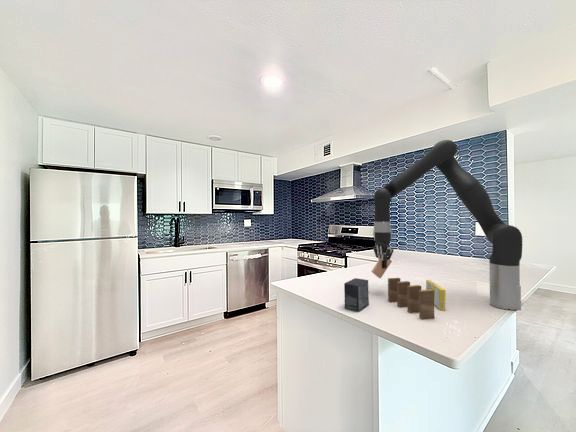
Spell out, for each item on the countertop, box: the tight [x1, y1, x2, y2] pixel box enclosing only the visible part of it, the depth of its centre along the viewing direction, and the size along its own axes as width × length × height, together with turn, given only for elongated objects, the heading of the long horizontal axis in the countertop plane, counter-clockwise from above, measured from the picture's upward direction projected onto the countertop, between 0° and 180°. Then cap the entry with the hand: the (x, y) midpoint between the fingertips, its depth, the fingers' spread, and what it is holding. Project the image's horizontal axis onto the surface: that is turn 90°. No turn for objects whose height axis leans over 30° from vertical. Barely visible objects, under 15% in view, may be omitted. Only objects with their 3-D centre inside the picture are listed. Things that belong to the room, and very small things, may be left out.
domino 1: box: [371, 255, 393, 279], centre depth 115 cm, size 2×5×10 cm
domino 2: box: [387, 277, 401, 303], centre depth 106 cm, size 2×5×10 cm, turn 103°
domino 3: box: [396, 280, 411, 308], centre depth 100 cm, size 2×5×10 cm, turn 103°
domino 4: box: [407, 284, 422, 314], centre depth 95 cm, size 2×5×10 cm, turn 103°
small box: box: [343, 277, 370, 313], centre depth 100 cm, size 11×6×10 cm, turn 141°
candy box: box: [425, 279, 446, 311], centre depth 103 cm, size 16×2×8 cm, turn 168°
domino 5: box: [418, 289, 435, 320], centre depth 89 cm, size 2×5×10 cm, turn 103°
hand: (383, 267), depth 115 cm, fingers closed on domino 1, 1 cm apart
